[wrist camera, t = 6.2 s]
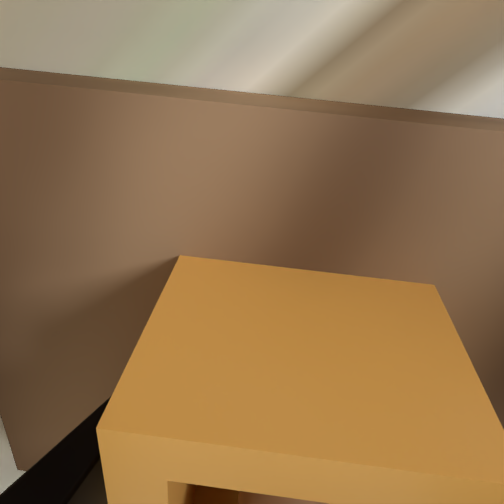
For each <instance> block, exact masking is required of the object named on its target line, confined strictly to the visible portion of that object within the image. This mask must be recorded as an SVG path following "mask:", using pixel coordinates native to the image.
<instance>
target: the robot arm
mask: <svg viewBox="0 0 504 504" xmlns="http://www.w3.org/2000/svg"><path fill="white" fill-rule="evenodd" d="M110 398H111V396H110V397H109V398H108V399H107V400H106V401H105V402H104V403H103V404H101V405H100V406H99V407H98V408H97V409H96V410H95V411H94V412H92V413H91V414H90V415H89V416H88V417H87V418H86V419H85V420H84V421H82V422H81V423H80V424H79V425H78V426H77V427H76V428H75V429H73V430H72V431H71V432H70V433H69V434H68V435H67V436H66V437H64V438H63V439H62V440H61V441H60V442H59V443H58V444H57V445H55V446H54V447H53V448H52V449H51V450H50V451H49V452H48V453H47V454H45V455H44V456H43V457H42V458H41V459H40V460H39V461H38V462H36V463H35V464H34V465H33V466H32V467H31V468H30V469H29V470H27V471H26V472H25V473H24V474H23V475H22V476H21V477H20V478H19V479H17V480H16V481H15V482H14V483H13V484H12V485H11V486H10V487H8V488H7V489H6V490H5V491H4V492H3V493H2V494H1V495H0V504H108V501H107V495H106V489H105V482H104V476H103V470H102V463H101V457H100V451H99V444H98V438H97V432H96V427H97V425H98V423H99V421H100V419H101V417H102V415H103V413H104V411H105V408H106V406H107V404H108V402H109V400H110Z"/></svg>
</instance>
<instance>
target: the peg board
mask: <svg viewBox="0 0 504 504" xmlns="http://www.w3.org/2000/svg"><path fill="white" fill-rule="evenodd" d="M180 255H182V256H191V257H199V258H208V259H217V260H225V261H234V262H242V263H251V264H260V265H268V266H277V267H285V268H294V269H303V270H311V271H320V272H328V273H337V274H346V275H354V276H363V277H371V278H380V279H389V280H397V281H406V282H414V283H423V284H432V285H435V287H436V289H437V291H438V293H439V295H440V297H441V300H442V302H443V304H444V306H445V308H446V310H447V312H448V314H449V316H450V318H451V320H452V323H453V325H454V327H455V329H456V331H457V333H458V335H459V337H460V339H461V341H462V343H463V346H464V348H465V350H466V352H467V354H468V356H469V358H470V360H471V362H472V364H473V366H474V369H475V371H476V373H477V375H478V377H479V379H480V381H481V383H482V385H483V387H484V389H485V392H486V394H487V396H488V398H489V400H490V402H491V404H492V406H493V408H494V410H495V412H496V415H497V417H498V419H499V421H500V423H501V425H502V427H503V429H504V119H501V118H491V117H481V116H471V115H461V114H452V113H442V112H432V111H422V110H413V109H403V108H393V107H383V106H373V105H364V104H354V103H344V102H334V101H325V100H315V99H305V98H295V97H285V96H276V95H266V94H256V93H246V92H237V91H227V90H217V89H207V88H197V87H188V86H178V85H168V84H158V83H148V82H139V81H129V80H119V79H109V78H100V77H90V76H80V75H70V74H60V73H51V72H41V71H31V70H21V69H12V68H2V67H0V415H1V418H2V421H3V424H4V428H5V431H6V434H7V437H8V440H9V444H10V447H11V450H12V453H13V456H14V460H15V463H16V466H17V469H18V470H23V471H27V470H29V469H30V468H31V467H32V466H33V465H34V464H35V463H36V462H38V461H39V460H40V459H41V458H42V457H43V456H44V455H45V454H47V453H48V452H49V451H50V450H51V449H52V448H53V447H54V446H55V445H57V444H58V443H59V442H60V441H61V440H62V439H63V438H64V437H66V436H67V435H68V434H69V433H70V432H71V431H72V430H73V429H75V428H76V427H77V426H78V425H79V424H80V423H81V422H82V421H84V420H85V419H86V418H87V417H88V416H89V415H90V414H91V413H92V412H94V411H95V410H96V409H97V408H98V407H99V406H100V405H101V404H103V403H104V402H105V401H106V400H107V399H108V398H109V397H110V396H112V394H113V392H114V390H115V388H116V386H117V384H118V382H119V380H120V378H121V375H122V373H123V371H124V369H125V367H126V365H127V363H128V361H129V359H130V357H131V355H132V353H133V351H134V349H135V347H136V345H137V343H138V340H139V338H140V336H141V334H142V332H143V330H144V328H145V326H146V324H147V322H148V320H149V318H150V316H151V314H152V312H153V310H154V307H155V305H156V303H157V301H158V299H159V297H160V295H161V293H162V291H163V289H164V287H165V285H166V283H167V281H168V279H169V277H170V275H171V272H172V270H173V268H174V266H175V264H176V262H177V260H178V258H179V256H180ZM238 504H329V503H322V502H315V501H308V500H301V499H294V498H287V497H280V496H273V495H266V494H259V493H252V492H245V491H239V497H238Z"/></svg>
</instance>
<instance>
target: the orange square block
mask: <svg viewBox="0 0 504 504" xmlns="http://www.w3.org/2000/svg"><path fill="white" fill-rule="evenodd" d="M96 432H97V438H98V444H99V451H100V457H101V463H102V470H103V476H104V482H105V489H106V495H107V501H108V504H238V497H239V491H245V492H252V493H259V494H266V495H273V496H280V497H287V498H294V499H301V500H308V501H315V502H322V503H329V504H504V429H503V427H502V425H501V423H500V421H499V419H498V417H497V415H496V412H495V410H494V408H493V406H492V404H491V402H490V400H489V398H488V396H487V394H486V392H485V389H484V387H483V385H482V383H481V381H480V379H479V377H478V375H477V373H476V371H475V369H474V366H473V364H472V362H471V360H470V358H469V356H468V354H467V352H466V350H465V348H464V346H463V343H462V341H461V339H460V337H459V335H458V333H457V331H456V329H455V327H454V325H453V323H452V320H451V318H450V316H449V314H448V312H447V310H446V308H445V306H444V304H443V302H442V300H441V297H440V295H439V293H438V291H437V289H436V287H435V285H432V284H423V283H414V282H406V281H397V280H389V279H380V278H371V277H363V276H354V275H346V274H337V273H328V272H320V271H311V270H303V269H294V268H285V267H277V266H268V265H260V264H251V263H242V262H234V261H225V260H217V259H208V258H199V257H191V256H182V255H180V256H179V258H178V260H177V262H176V264H175V266H174V268H173V270H172V272H171V275H170V277H169V279H168V281H167V283H166V285H165V287H164V289H163V291H162V293H161V295H160V297H159V299H158V301H157V303H156V305H155V307H154V310H153V312H152V314H151V316H150V318H149V320H148V322H147V324H146V326H145V328H144V330H143V332H142V334H141V336H140V338H139V340H138V343H137V345H136V347H135V349H134V351H133V353H132V355H131V357H130V359H129V361H128V363H127V365H126V367H125V369H124V371H123V373H122V375H121V378H120V380H119V382H118V384H117V386H116V388H115V390H114V392H113V394H112V396H111V398H110V400H109V402H108V404H107V406H106V408H105V411H104V413H103V415H102V417H101V419H100V421H99V423H98V425H97V427H96Z"/></svg>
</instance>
